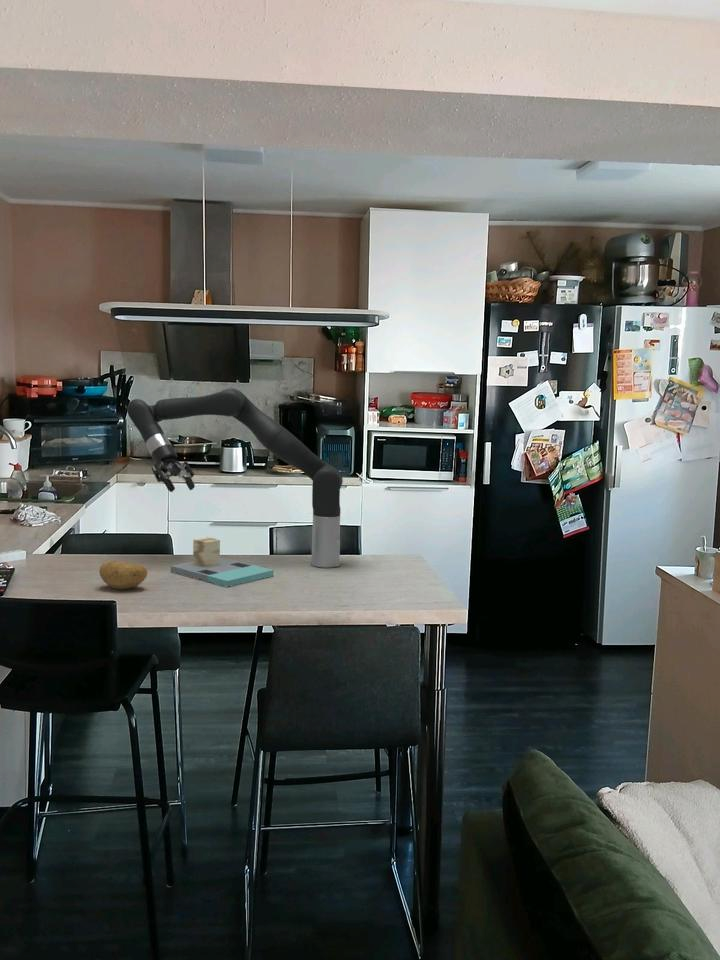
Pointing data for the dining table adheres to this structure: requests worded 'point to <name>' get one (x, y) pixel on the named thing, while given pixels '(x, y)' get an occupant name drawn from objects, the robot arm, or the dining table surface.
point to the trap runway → (224, 572)
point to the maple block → (206, 551)
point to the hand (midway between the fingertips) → (182, 489)
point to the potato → (122, 574)
